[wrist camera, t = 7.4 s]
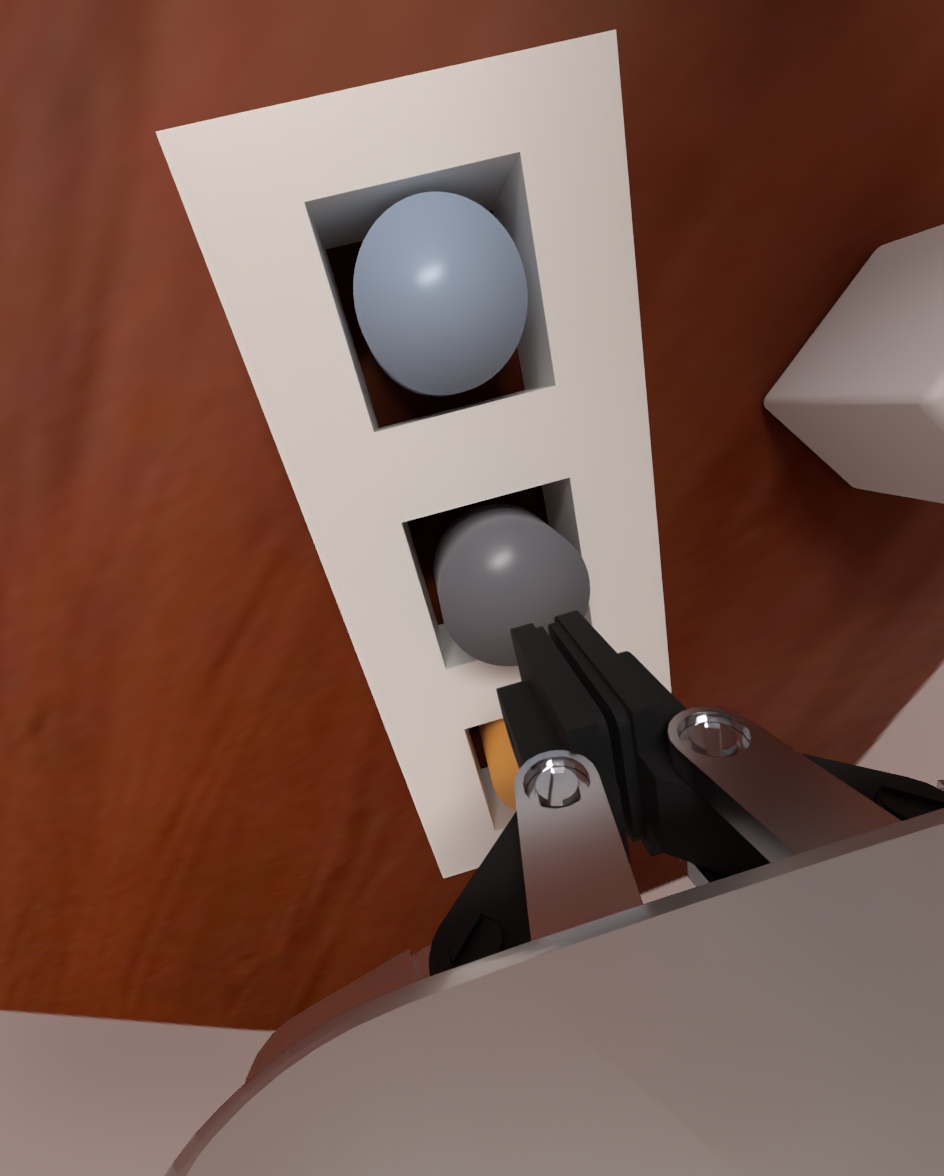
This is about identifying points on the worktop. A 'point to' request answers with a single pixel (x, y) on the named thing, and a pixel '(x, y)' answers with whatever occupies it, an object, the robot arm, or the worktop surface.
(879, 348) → the medicine bottle
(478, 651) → the charcoal button
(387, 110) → the frame
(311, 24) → the worktop surface
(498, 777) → the orange button
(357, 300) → the slate button
